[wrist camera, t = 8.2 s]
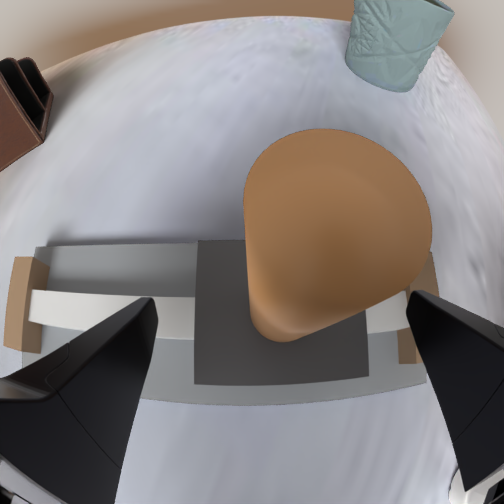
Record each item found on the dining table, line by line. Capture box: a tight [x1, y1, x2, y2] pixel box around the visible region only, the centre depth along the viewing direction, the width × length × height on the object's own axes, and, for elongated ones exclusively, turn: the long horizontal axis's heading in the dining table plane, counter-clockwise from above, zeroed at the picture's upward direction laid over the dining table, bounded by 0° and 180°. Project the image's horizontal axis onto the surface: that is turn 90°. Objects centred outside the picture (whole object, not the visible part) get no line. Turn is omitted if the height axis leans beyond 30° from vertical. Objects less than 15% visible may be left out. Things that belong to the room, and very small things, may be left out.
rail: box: [3, 243, 439, 406], centre depth 14 cm, size 26×9×3 cm, turn 91°
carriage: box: [194, 129, 432, 386], centre depth 8 cm, size 7×6×10 cm
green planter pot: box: [345, 0, 454, 92], centre depth 19 cm, size 10×10×12 cm
